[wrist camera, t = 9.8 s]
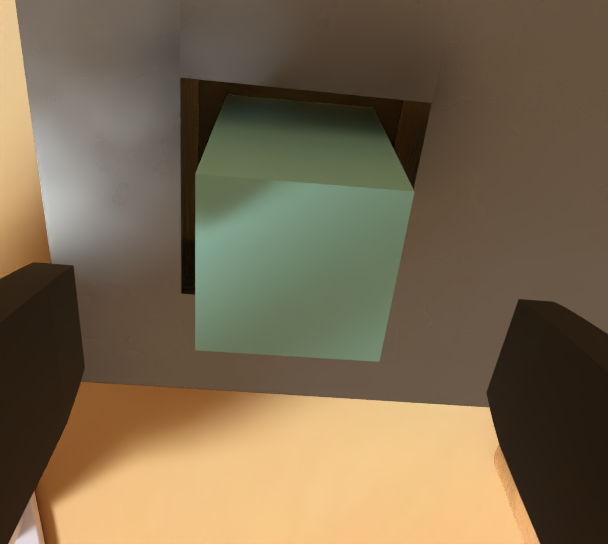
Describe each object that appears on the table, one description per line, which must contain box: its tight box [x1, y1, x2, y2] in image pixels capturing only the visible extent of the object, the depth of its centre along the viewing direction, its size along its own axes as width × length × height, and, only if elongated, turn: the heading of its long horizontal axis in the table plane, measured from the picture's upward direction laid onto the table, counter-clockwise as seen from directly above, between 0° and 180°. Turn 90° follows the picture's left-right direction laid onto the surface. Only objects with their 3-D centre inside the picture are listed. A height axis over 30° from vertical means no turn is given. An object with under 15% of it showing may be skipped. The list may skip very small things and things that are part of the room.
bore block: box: [15, 0, 608, 407], centre depth 15 cm, size 18×12×3 cm, turn 84°
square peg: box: [195, 94, 414, 362], centre depth 14 cm, size 4×4×6 cm
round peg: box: [494, 445, 540, 544], centre depth 20 cm, size 4×4×6 cm
